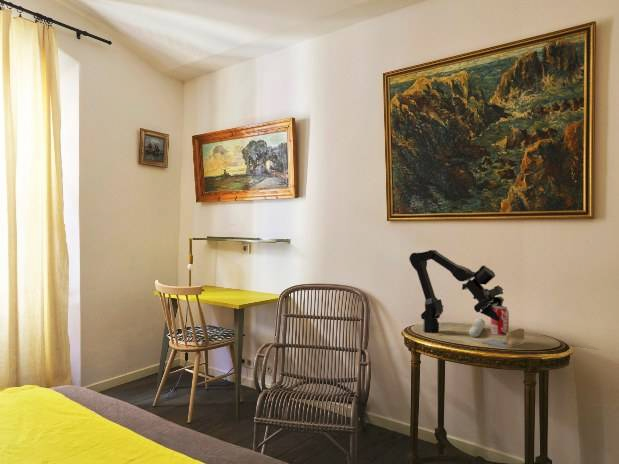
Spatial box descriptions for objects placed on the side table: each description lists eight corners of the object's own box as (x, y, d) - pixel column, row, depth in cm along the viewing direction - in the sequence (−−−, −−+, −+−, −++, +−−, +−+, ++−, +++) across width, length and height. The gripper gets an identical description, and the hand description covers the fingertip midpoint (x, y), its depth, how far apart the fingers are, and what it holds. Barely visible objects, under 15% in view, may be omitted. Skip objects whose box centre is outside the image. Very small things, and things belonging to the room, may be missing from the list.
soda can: (509, 334, 189) (510, 306, 189) (507, 337, 183) (507, 308, 183) (492, 332, 193) (492, 305, 193) (489, 335, 187) (489, 307, 187)
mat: (482, 343, 189) (482, 342, 189) (492, 339, 196) (492, 338, 196) (505, 347, 182) (505, 346, 182) (515, 343, 189) (515, 342, 189)
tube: (481, 330, 198) (486, 320, 221) (470, 325, 201) (476, 316, 223) (477, 341, 199) (483, 330, 221) (466, 336, 201) (472, 326, 224)
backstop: (506, 347, 182) (506, 333, 182) (519, 342, 192) (519, 328, 192) (511, 348, 181) (511, 333, 181) (524, 342, 190) (524, 329, 190)
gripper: (481, 281, 185) (507, 310, 177) (500, 278, 198) (525, 306, 190) (463, 297, 190) (488, 326, 182) (482, 294, 203) (506, 321, 195)
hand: (502, 319), depth 187 cm, fingers closed on soda can, 7 cm apart
